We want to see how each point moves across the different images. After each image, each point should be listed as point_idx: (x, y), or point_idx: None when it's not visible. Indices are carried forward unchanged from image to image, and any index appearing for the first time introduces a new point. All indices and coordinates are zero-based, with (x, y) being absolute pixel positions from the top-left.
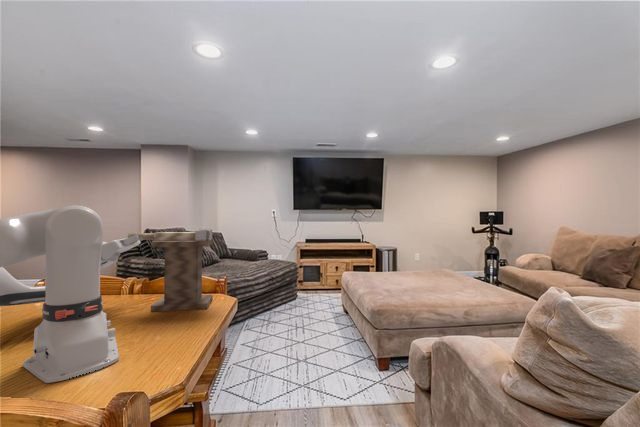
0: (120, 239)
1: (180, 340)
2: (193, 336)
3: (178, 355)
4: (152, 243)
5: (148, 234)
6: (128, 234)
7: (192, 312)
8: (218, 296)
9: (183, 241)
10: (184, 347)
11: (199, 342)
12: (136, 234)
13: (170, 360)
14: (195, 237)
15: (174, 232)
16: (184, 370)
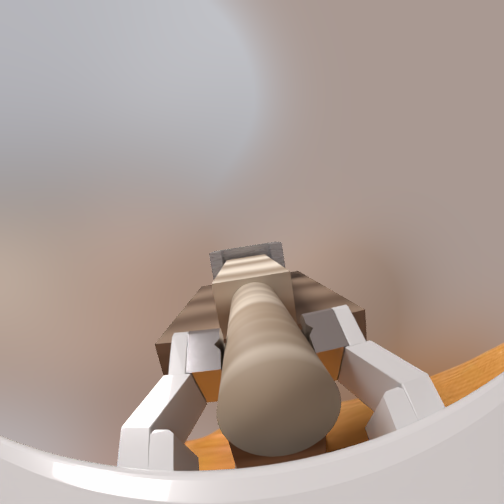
0: (493, 379)
1: (463, 388)
2: (445, 386)
3: (488, 366)
4: (363, 317)
5: (276, 296)
6: (317, 367)
7: (342, 447)
8: (207, 443)
9: (312, 282)
10: (473, 374)
11: (454, 372)
12: (338, 306)
13: (498, 363)
14: (284, 267)
15: (238, 267)
16: (499, 348)
